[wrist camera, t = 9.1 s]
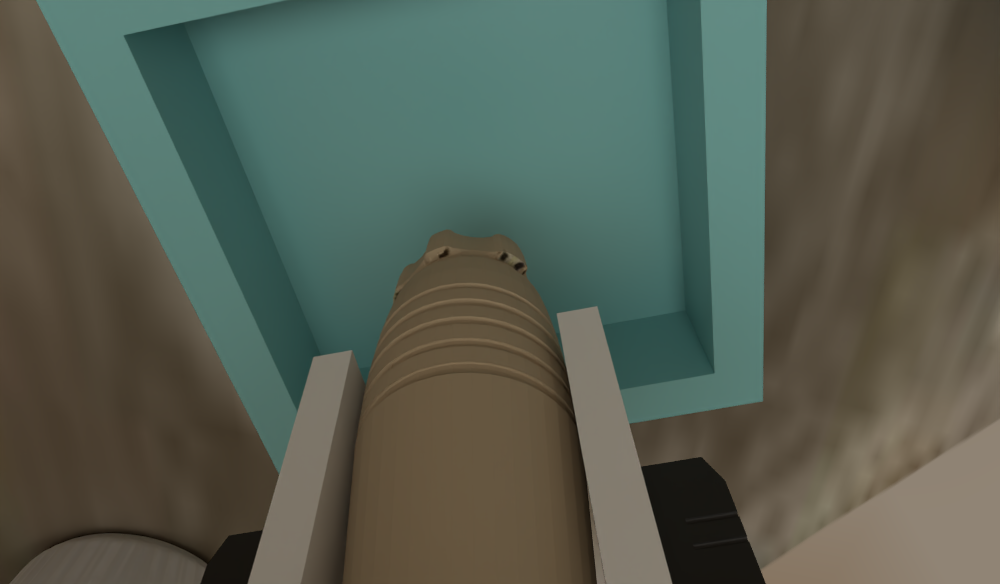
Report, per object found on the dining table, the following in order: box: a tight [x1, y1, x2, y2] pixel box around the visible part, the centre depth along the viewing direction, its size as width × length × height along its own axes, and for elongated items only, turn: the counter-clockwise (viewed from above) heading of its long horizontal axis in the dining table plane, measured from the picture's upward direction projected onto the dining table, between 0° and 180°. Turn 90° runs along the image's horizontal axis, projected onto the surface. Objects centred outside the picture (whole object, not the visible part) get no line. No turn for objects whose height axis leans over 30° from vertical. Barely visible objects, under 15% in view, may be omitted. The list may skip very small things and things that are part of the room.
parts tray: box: [36, 0, 767, 474], centre depth 21 cm, size 16×16×4 cm
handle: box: [342, 229, 597, 584], centre depth 11 cm, size 5×6×15 cm
